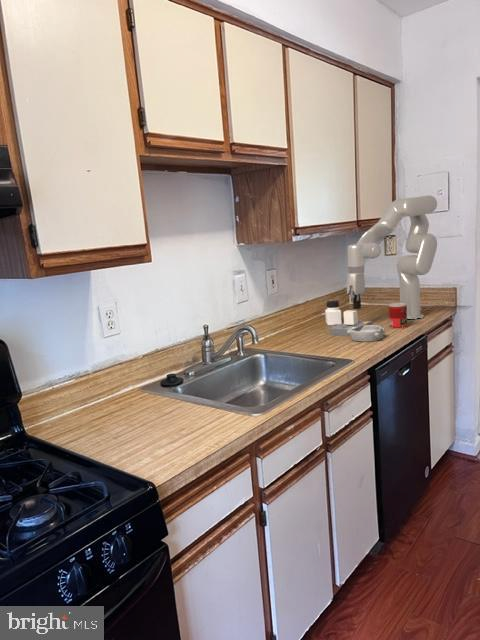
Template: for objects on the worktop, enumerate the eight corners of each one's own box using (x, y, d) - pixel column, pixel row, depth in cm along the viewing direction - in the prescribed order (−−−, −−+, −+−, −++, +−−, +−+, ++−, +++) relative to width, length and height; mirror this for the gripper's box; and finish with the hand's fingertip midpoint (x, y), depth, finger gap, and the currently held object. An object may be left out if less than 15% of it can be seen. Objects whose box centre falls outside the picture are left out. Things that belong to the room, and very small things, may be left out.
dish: (344, 341, 206) (343, 330, 205) (361, 334, 215) (360, 323, 215) (374, 344, 196) (374, 332, 195) (390, 337, 205) (390, 326, 204)
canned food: (404, 329, 217) (403, 305, 215) (387, 328, 222) (386, 305, 220) (409, 325, 223) (408, 302, 221) (392, 325, 228) (392, 302, 226)
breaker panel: (350, 325, 235) (349, 319, 234) (372, 327, 227) (372, 321, 226) (329, 334, 220) (328, 328, 219) (352, 336, 212) (352, 329, 212)
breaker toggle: (348, 322, 226) (347, 310, 225) (357, 323, 223) (357, 310, 221) (344, 324, 223) (343, 311, 222) (353, 324, 220) (353, 312, 219)
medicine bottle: (342, 324, 240) (340, 301, 238) (328, 325, 241) (326, 302, 239) (339, 321, 247) (338, 299, 245) (325, 322, 248) (324, 300, 246)
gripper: (356, 269, 232) (357, 306, 235) (341, 272, 221) (342, 310, 224) (370, 269, 227) (371, 306, 230) (355, 271, 216) (356, 311, 219)
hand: (357, 308), depth 227 cm, fingers closed
